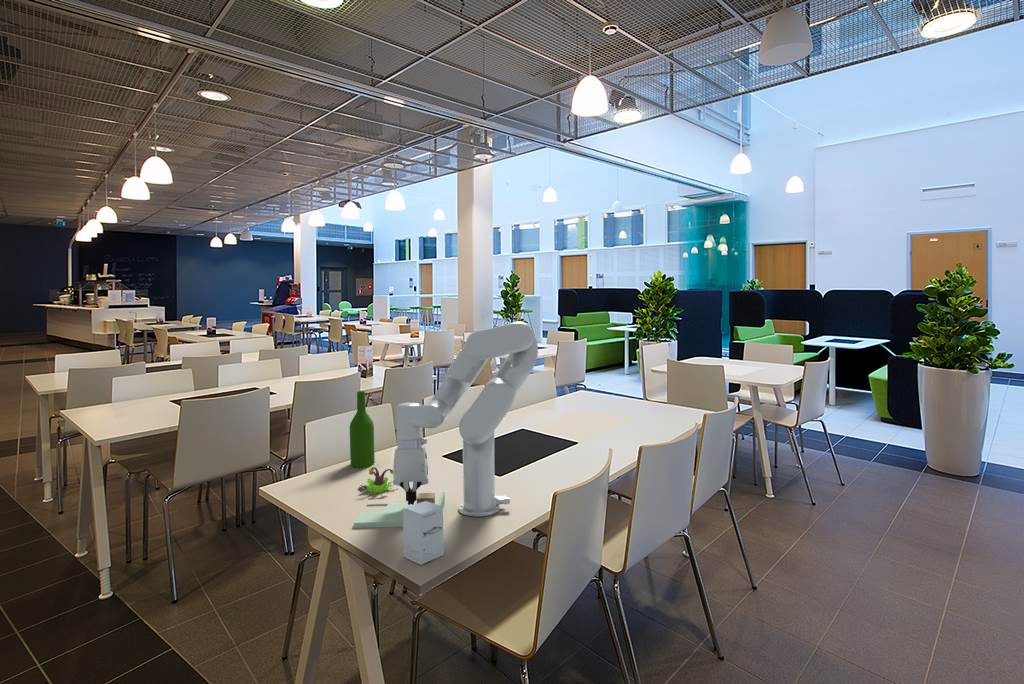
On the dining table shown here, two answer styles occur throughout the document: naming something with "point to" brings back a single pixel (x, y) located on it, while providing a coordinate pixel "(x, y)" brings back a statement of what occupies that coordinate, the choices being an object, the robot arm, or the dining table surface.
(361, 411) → the wine bottle
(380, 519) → the board
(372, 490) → the plant
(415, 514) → the supplement box
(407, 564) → the dining table surface
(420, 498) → the walnut block
